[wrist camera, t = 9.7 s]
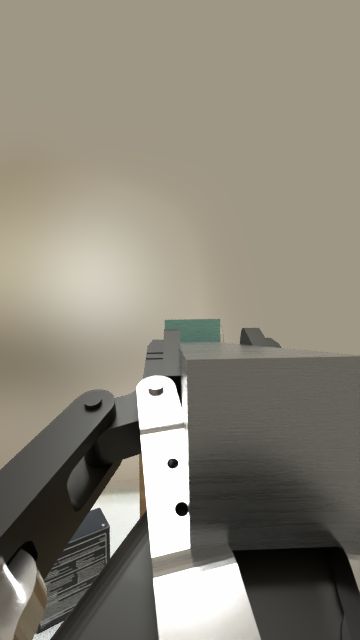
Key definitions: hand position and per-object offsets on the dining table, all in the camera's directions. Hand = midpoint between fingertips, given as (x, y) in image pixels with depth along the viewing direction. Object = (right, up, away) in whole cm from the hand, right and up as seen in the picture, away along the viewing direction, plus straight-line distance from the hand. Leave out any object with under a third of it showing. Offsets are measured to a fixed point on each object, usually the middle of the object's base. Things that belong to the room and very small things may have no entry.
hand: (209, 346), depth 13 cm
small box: (-18, -42, +30) cm, 55 cm away
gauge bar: (0, -3, +4) cm, 5 cm away
